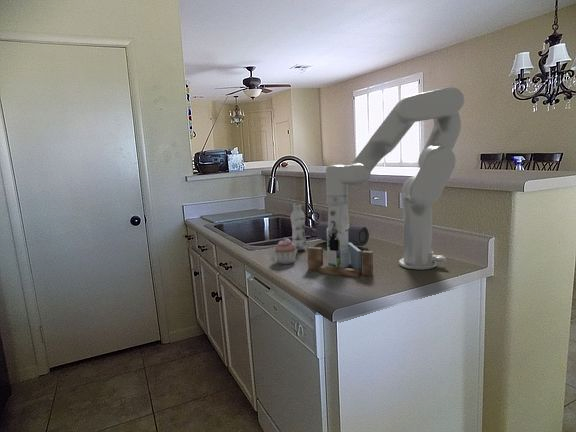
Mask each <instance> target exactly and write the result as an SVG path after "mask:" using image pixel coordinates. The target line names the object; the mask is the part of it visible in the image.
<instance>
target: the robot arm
mask: <svg viewBox="0 0 576 432" xmlns="http://www.w3.org/2000/svg"><path fill="white" fill-rule="evenodd" d="M464 103H465V96H464V93H463V92H462V91H461V90H460V89H459V88H456V87H454V86H448V87H442V88H439V89H433V90H430V91H424V92H420V93H415V94H410V95H407V96H405V97H403V98H402V99H400V100H399V101H398V102H397V103H396V104H395V106H394V107H393V108H392V109H391V111H390V112H389V114H388V115H387V117H385V118H384V120H383V121H382V123H380V125H379V126H378V128H377V129H376V131H374V133H373V135H372V136H371V137H370V139H369V140H368V142H367V143H366V144H365V145H364V147H363V148H362V149H361V151H360V152H359V154H358V155H357V156H356V157H355V158H354V159H353V161H352V162H351V164H350V165H345V164H331V165H330V164H329V165H328V166H326V167H325V182H326V183H325V185H326V205H327V206H328V208H327V209H328V210H327V222H328V233H329V234H328V236H329V247H330V250H331V251H338V250H339V242H338V239H337V238H338V233H339V232H340V233H343V232H345V231H346V228H348V229H349V224H350V215H349V186H359V187H360V186H365V185H366V184H367V183H369V181H370V180H371V176H372V174H371V172H372V171H373V170H374V169H375V167H376V166H377V165H378V163H379V162H380V161H381V160H382V159H383V158H385V156H387V155H388V154H389V153H392V151H393V150H394V149H395V148H396V147H397V146H398V144H399V143H400V142H401V140H402V139H403V138H404V137H405V136H406V135H407V133H408V131H409V130H410V129H411V128H412V126H414V124H415V123H417V122H423V121H428V120H432V119H433V127H432V130H431V133H430V135H429V137H428V138H427V141H426V142H425V145H424V148H423V149H422V151H421V153H420V155H419V157H418V161H417V162H418V167H419V170H418V172H417V175H412V176H410V177H408V178H407V179H406V180H405V181H404V183H403V185H402V189H401V190H402V191H401V196H402V197H401V198H402V207H403V208H402V209H403V221H402V222H403V226H402V227H403V228H402V229H403V237H402V238H403V257H402V258H401V259H399V260H398V264H399V265H400V266H401V267H402V268H406V269H409V270H421V271H422V270H431V269H434V268H436V266H437V263H443V264H445V263H446V257H445V256H443V255H436V254H434V253H435V252H434V251H433V206H432V205H434V204H435V203H436V202H437V201H438V199H440V196H441V195H442V193H443V191H444V190H445V188H446V186H447V183H448V182H449V180H450V178H451V176H452V173H454V170H455V166H456V155H455V153H454V152H453V150H454V147H455V145H456V143H457V140H458V138H459V136H460V132H461V129H462V121H461V120H462V119H461V115H460V112H459V111H461V109H462V108H463V106H464ZM333 230H337V231H333ZM335 234H336V235H335Z"/></svg>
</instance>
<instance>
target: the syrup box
mask: <svg viewBox="0 0 576 432" xmlns="http://www.w3.org/2000/svg"><path fill="white" fill-rule="evenodd" d="M333 231H337V230H333ZM328 234H329V233H328V228H327V241H326V248H327V249H326V251H327V252H326V253H327V266H331V267H341V268H349V267H350V264H349V247H348V228H346V231H345V232H343V233H340V232H339V233H338V238H337V239H338V242H339V250H338V251H331V250H330V247H329V236H328ZM335 235H336V234H335Z"/></svg>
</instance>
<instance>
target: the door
mask: <svg viewBox="0 0 576 432" xmlns="http://www.w3.org/2000/svg"><path fill="white" fill-rule="evenodd" d="M348 247H349V266H351V267H352V269H360V275H363V262H362V252H363V250H361V249H359V248H358V246H354V245H353V244H352V243H351V242H349V243H348Z"/></svg>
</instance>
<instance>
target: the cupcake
mask: <svg viewBox="0 0 576 432" xmlns="http://www.w3.org/2000/svg"><path fill="white" fill-rule="evenodd" d="M298 251H299V250H298V249H296V248H295V245H294V243H292V239H290V238H288V237H285V236H284V237H283V239H282V240H279V241H278V243H277V244H276V245H275V249H274V250H273V253H274V255H275V256H276V259H277V262H278V264H280V265H292V264H293V263H295V261H296V257H297V253H298Z"/></svg>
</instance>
